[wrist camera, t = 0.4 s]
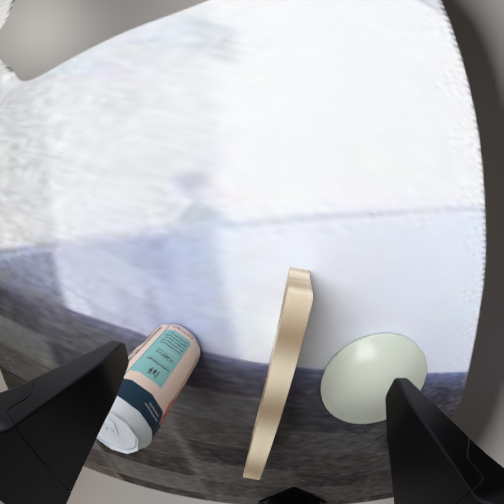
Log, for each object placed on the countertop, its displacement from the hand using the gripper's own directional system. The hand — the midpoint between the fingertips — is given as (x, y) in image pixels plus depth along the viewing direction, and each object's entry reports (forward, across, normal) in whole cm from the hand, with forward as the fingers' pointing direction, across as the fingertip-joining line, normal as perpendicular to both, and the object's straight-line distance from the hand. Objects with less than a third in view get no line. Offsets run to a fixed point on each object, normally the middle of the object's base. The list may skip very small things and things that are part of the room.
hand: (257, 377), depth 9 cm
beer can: (+13, +8, +11) cm, 19 cm away
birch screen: (+13, -1, +11) cm, 17 cm away
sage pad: (+12, -10, +12) cm, 20 cm away
